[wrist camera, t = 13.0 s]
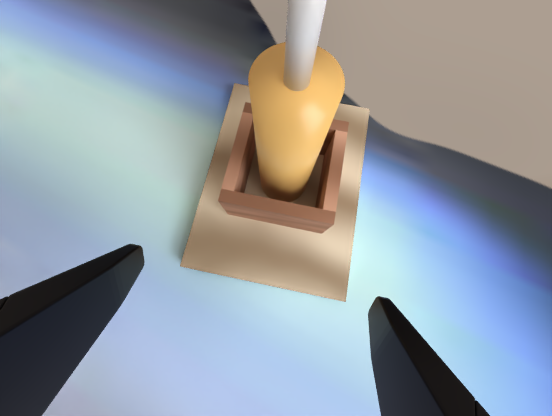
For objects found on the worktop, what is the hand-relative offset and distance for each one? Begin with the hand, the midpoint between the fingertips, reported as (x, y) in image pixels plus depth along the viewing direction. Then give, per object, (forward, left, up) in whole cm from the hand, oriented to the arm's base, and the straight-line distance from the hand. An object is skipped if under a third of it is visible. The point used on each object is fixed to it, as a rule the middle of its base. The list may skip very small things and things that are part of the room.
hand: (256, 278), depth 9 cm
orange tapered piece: (+6, +5, -8) cm, 11 cm away
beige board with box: (+6, +5, -9) cm, 12 cm away
